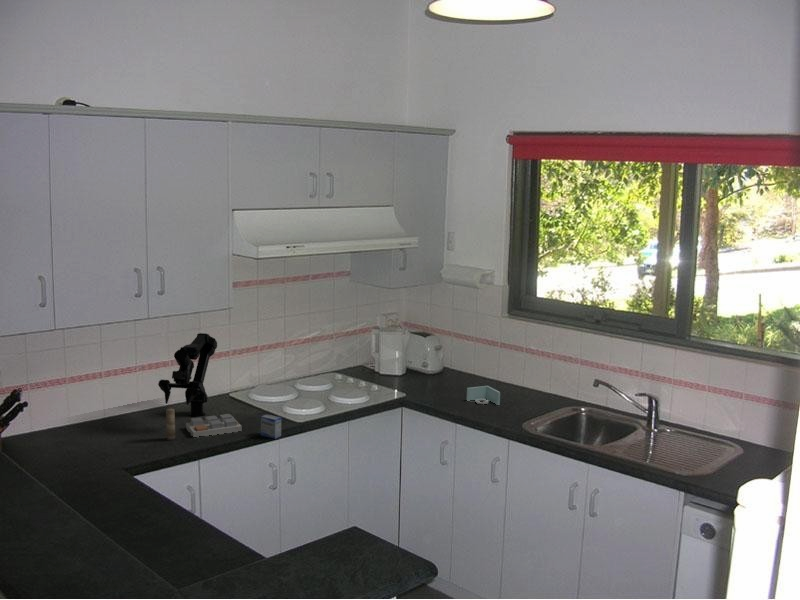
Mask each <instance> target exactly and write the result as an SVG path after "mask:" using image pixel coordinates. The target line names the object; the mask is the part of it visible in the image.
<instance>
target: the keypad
mask: <svg viewBox="0 0 800 600" xmlns="http://www.w3.org/2000/svg"><path fill="white" fill-rule="evenodd" d="M198 425H205V426H206V427H207V430H204V431H197V432H196V430H195V427H194V426H198ZM242 428H243V426H242V424H240V422H239V421H237V420H236V418H234V416H233V415H232V414H231V413H225V414H220V415H219V418H218V417H217V416H216V415H209V416H205V419H204V420H203V418H202V417H200V416H198V417H192V418H190V422H186V423H185V429H186V430H187V431H188V433H189V432H190V433H191V434H190V433H189V434H190V436H191V437H192V436H193V437H197V438H200V437H199V436H205V437H210V436H209V435H212V436H218V435H217V434H219V435H225V434H224V433H227V434H232V432H234V433H239V432H238V431H241V432H242ZM193 437H192V438H193Z"/></svg>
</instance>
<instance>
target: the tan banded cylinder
mask: <svg viewBox="0 0 800 600" xmlns="http://www.w3.org/2000/svg"><path fill="white" fill-rule="evenodd" d="M175 414H176V412H175V409H174V408H166V409H165V417H166V418H165V422H166V423H165V425H166V427H165V428H166V431H165V432H166V440H167V441H168V440H173V441H175V440H176V420H175V419H176V418H175ZM174 439H175V440H174Z"/></svg>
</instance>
